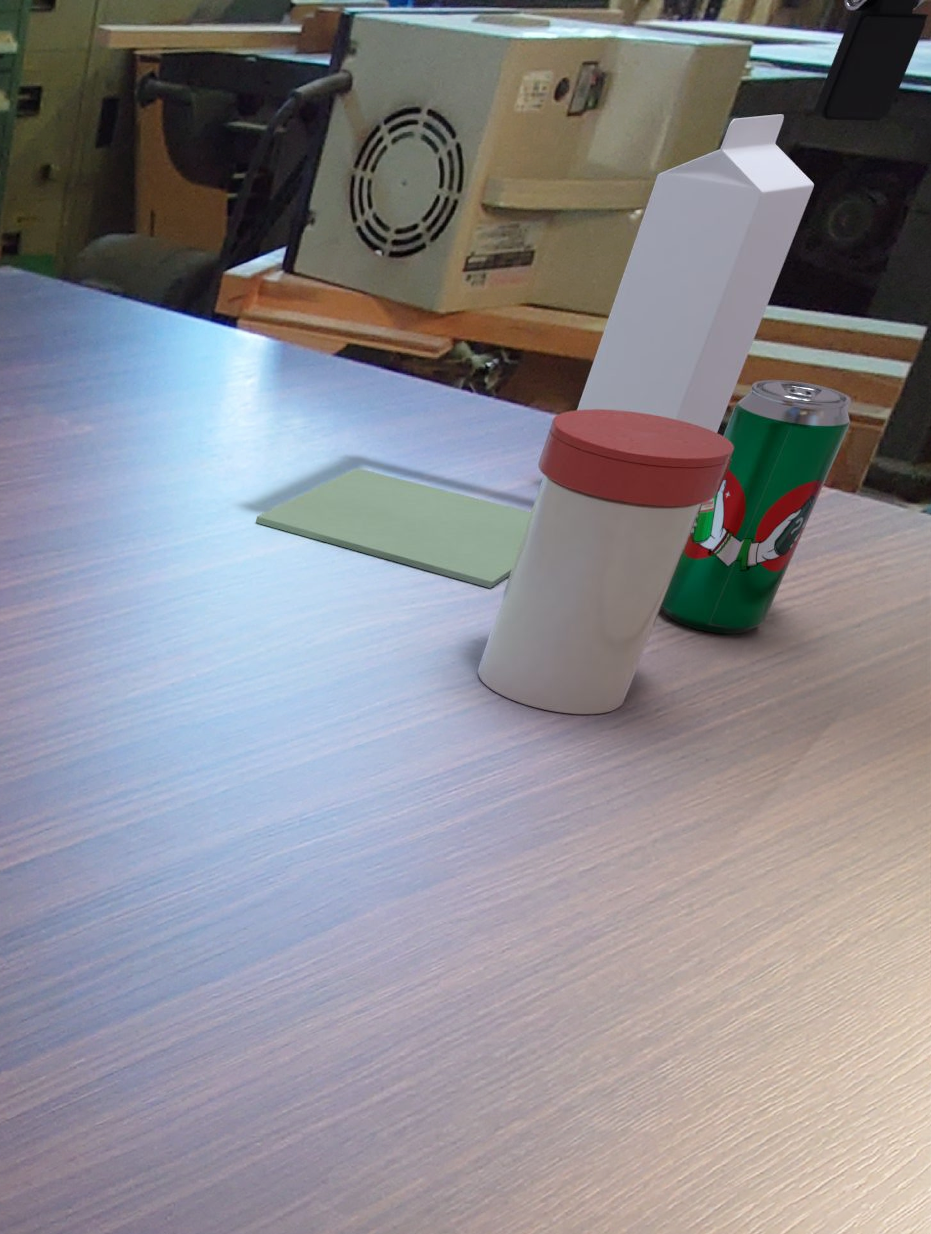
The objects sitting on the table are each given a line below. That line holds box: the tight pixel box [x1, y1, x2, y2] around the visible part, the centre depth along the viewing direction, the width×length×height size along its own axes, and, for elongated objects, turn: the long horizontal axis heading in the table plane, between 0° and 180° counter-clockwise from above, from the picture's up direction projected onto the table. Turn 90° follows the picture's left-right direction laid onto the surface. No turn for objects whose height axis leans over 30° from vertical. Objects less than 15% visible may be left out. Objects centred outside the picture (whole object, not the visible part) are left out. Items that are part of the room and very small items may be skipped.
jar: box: [477, 474, 702, 715], centre depth 79 cm, size 7×7×12 cm
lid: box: [537, 409, 734, 506], centre depth 76 cm, size 7×7×2 cm
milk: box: [576, 113, 815, 433], centre depth 100 cm, size 6×6×22 cm
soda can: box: [661, 379, 852, 635], centre depth 87 cm, size 5×5×12 cm
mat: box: [255, 467, 531, 589], centre depth 101 cm, size 14×14×1 cm
